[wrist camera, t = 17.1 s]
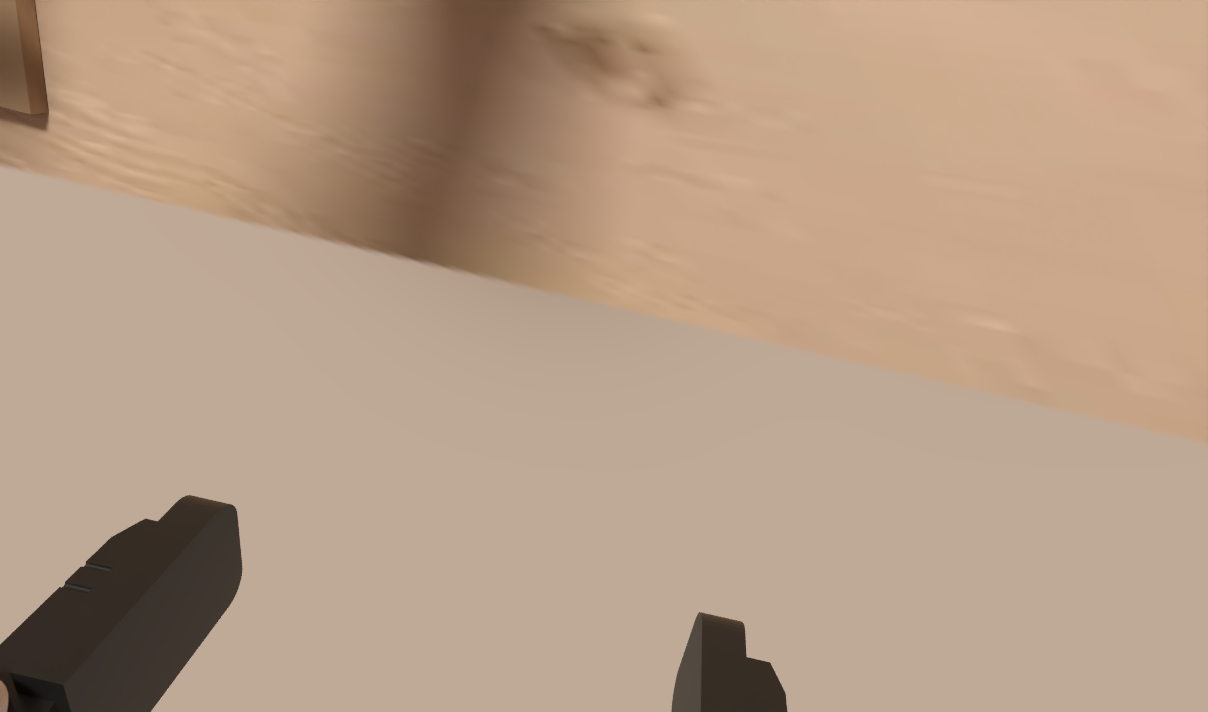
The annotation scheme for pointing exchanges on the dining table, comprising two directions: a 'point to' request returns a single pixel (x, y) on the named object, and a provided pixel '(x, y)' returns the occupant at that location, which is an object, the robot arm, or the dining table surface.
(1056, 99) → the dining table surface
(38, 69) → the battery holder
